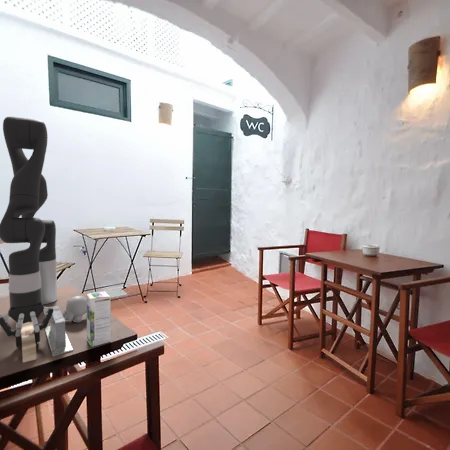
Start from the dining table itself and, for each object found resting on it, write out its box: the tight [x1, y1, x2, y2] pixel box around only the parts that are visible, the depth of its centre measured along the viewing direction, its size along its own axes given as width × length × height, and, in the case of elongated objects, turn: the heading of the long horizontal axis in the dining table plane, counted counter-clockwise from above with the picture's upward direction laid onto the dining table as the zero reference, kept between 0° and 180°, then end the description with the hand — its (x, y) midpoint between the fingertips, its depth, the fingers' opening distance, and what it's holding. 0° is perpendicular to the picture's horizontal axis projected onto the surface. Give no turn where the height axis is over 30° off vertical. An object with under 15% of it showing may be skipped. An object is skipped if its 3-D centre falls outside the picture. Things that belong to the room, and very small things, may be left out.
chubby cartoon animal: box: [61, 295, 87, 324], centre depth 103 cm, size 7×12×8 cm, turn 129°
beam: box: [21, 322, 37, 363], centre depth 85 cm, size 18×3×4 cm, turn 36°
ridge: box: [44, 305, 74, 357], centre depth 89 cm, size 20×5×8 cm, turn 37°
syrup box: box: [86, 291, 112, 348], centre depth 88 cm, size 6×6×14 cm
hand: (28, 344), depth 85 cm, fingers closed on beam, 3 cm apart
